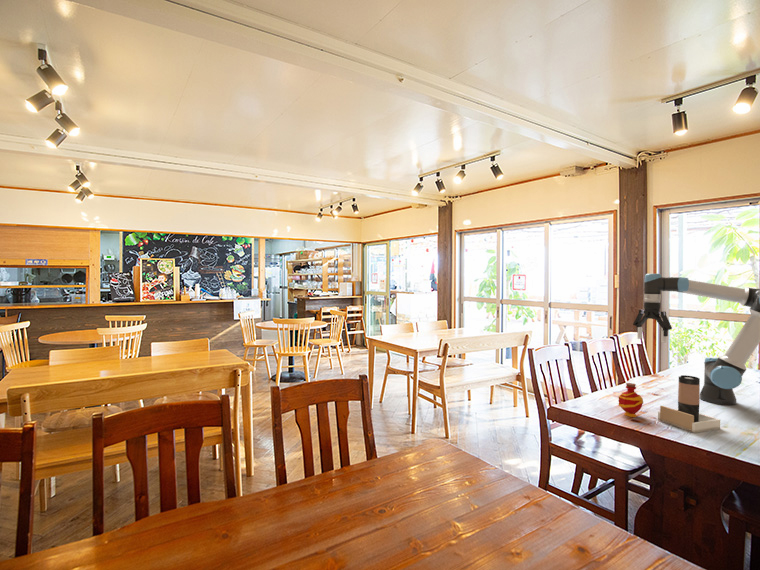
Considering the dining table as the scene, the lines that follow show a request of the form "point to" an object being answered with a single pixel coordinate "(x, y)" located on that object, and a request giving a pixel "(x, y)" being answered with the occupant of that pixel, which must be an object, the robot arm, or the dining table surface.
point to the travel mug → (689, 395)
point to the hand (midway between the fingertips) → (651, 340)
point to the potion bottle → (630, 401)
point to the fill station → (687, 420)
